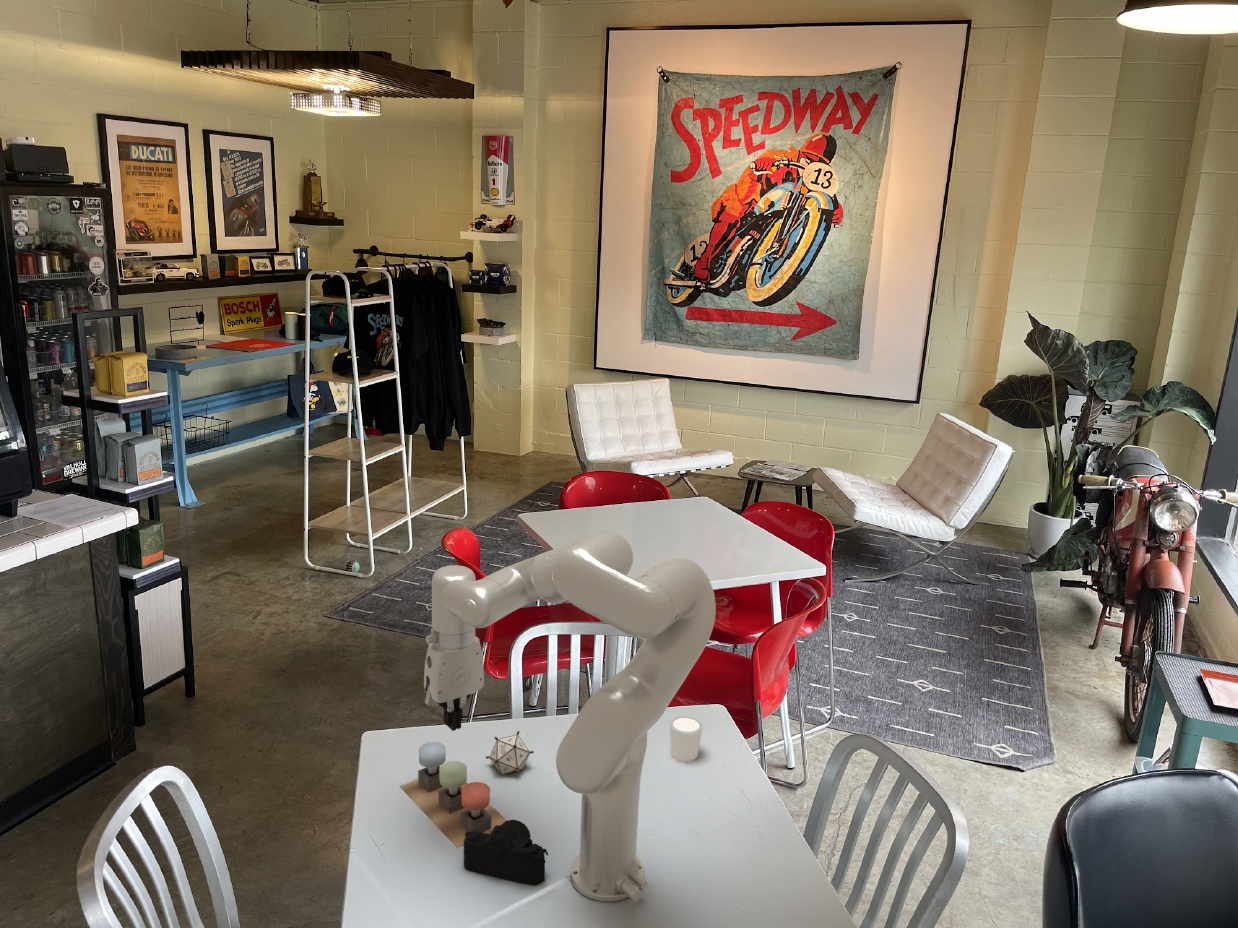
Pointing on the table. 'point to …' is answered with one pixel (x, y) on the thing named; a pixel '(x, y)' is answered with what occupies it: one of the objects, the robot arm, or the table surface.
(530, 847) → the film camera
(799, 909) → the table surface
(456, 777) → the sage button
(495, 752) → the game die
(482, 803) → the brick button
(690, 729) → the white cylinder
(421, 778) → the wooden button base
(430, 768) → the slate button
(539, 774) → the table surface
